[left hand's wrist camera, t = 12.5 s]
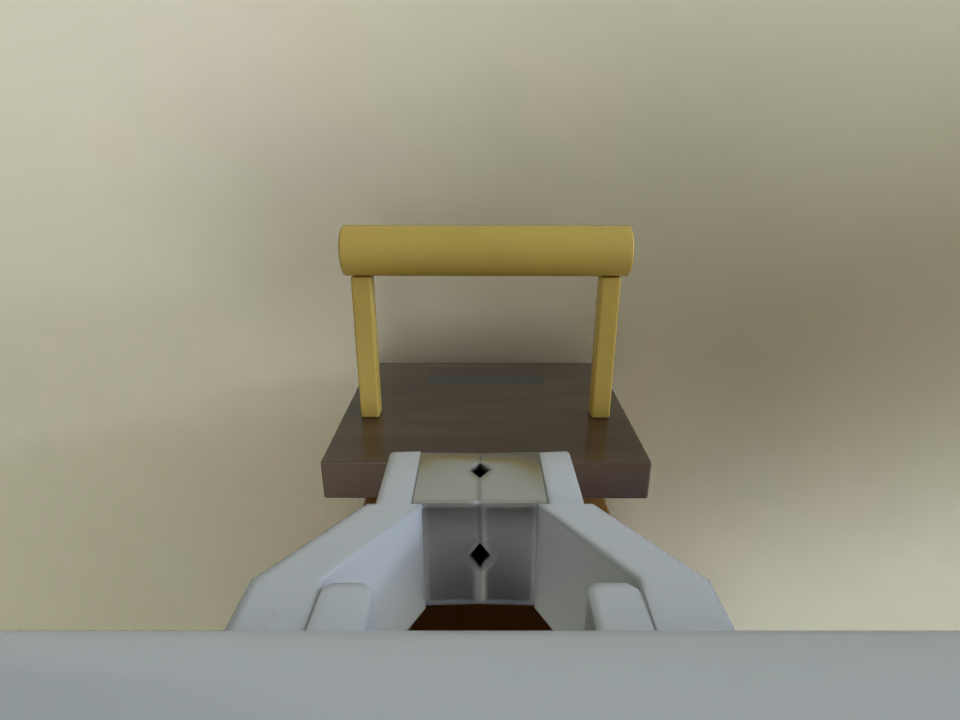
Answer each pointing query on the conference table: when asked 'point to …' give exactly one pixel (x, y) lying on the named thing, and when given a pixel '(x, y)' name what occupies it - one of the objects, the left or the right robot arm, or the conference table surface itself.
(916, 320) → the conference table surface
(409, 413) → the drawer
